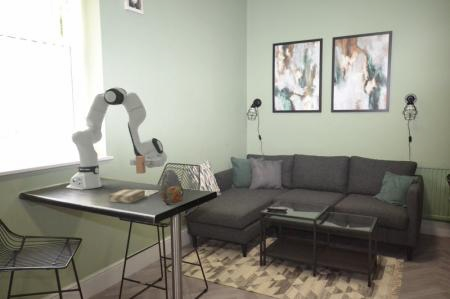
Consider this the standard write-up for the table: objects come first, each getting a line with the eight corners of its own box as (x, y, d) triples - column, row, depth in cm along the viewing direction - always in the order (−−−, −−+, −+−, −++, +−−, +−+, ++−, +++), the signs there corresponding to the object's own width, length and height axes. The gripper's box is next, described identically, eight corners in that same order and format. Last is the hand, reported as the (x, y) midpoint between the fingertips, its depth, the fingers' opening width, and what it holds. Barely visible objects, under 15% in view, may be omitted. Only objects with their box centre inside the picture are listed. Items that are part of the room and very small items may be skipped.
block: (136, 173, 220) (135, 156, 218) (139, 172, 223) (139, 155, 222) (142, 173, 218) (141, 156, 217) (145, 172, 222) (144, 155, 221)
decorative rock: (168, 198, 208) (167, 172, 206) (158, 197, 211) (157, 171, 209) (185, 192, 222) (184, 167, 220) (176, 191, 225) (175, 167, 223)
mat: (123, 195, 218) (123, 194, 218) (136, 190, 231) (136, 189, 231) (148, 196, 213) (148, 195, 213) (159, 191, 226) (159, 190, 226)
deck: (109, 201, 202) (108, 194, 202) (123, 196, 216) (123, 189, 215) (131, 203, 198) (131, 195, 198) (144, 197, 212) (144, 190, 211)
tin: (166, 205, 192) (165, 189, 191) (161, 205, 193) (161, 189, 192) (184, 199, 204) (183, 184, 203) (179, 198, 206) (179, 184, 205)
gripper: (136, 155, 235) (124, 158, 222) (165, 156, 229) (154, 159, 216) (136, 165, 236) (124, 168, 223) (165, 166, 230) (155, 169, 217)
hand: (139, 163), depth 219 cm, fingers closed on block, 4 cm apart
